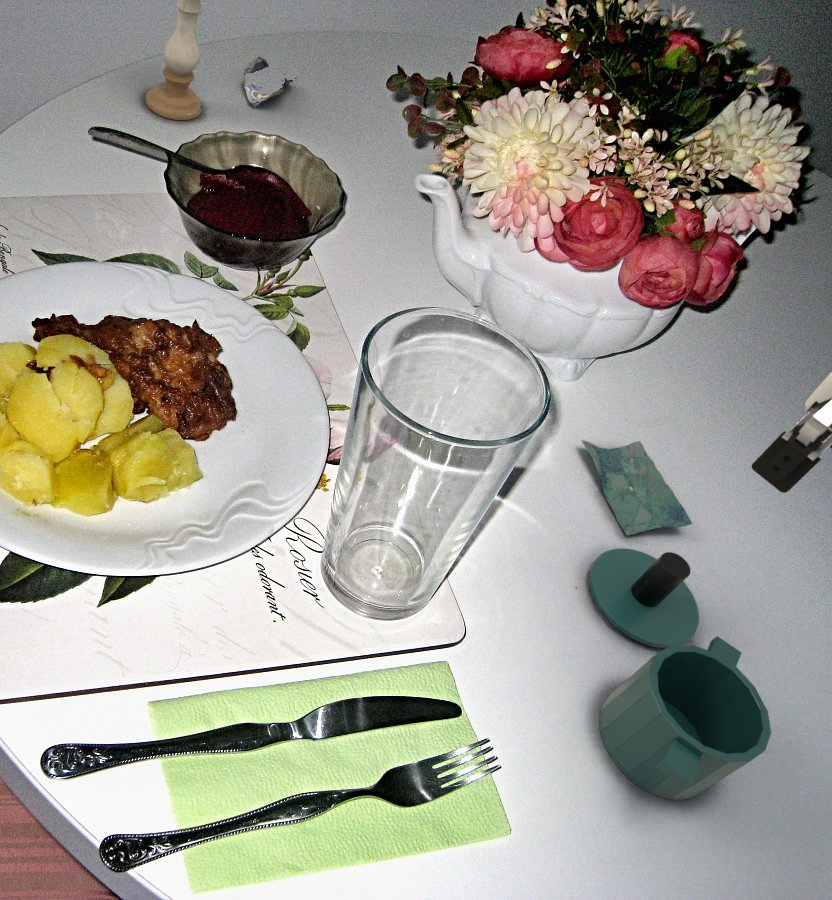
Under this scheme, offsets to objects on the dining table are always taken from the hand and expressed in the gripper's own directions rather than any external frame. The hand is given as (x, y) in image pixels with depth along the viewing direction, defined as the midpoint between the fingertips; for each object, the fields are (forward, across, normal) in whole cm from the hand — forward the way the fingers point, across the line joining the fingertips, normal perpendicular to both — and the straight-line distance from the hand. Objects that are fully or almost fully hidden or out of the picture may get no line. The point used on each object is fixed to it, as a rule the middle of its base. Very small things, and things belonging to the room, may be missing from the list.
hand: (795, 458), depth 74 cm
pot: (+24, -11, -9) cm, 28 cm away
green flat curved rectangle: (+24, +13, +11) cm, 29 cm away
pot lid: (+23, +1, +1) cm, 23 cm away
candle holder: (+22, +9, +98) cm, 101 cm away
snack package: (+22, +27, +98) cm, 104 cm away
